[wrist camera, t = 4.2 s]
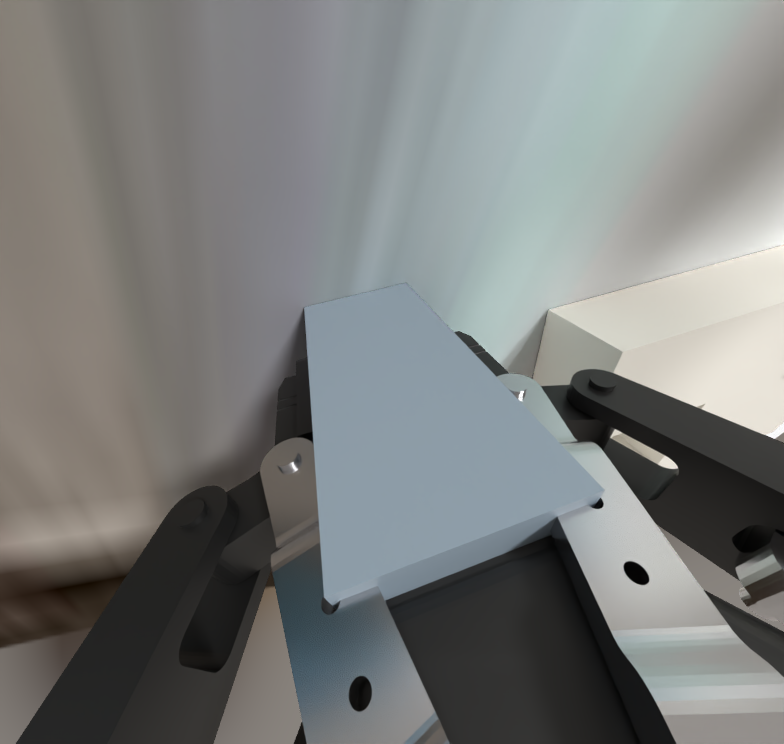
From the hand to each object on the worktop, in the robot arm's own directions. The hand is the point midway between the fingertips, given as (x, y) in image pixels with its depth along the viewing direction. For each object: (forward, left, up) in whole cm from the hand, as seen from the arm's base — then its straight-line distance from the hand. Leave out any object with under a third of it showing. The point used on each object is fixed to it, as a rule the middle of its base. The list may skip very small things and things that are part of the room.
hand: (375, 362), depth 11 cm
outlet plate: (+8, +19, -2) cm, 21 cm away
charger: (0, 0, -2) cm, 2 cm away
